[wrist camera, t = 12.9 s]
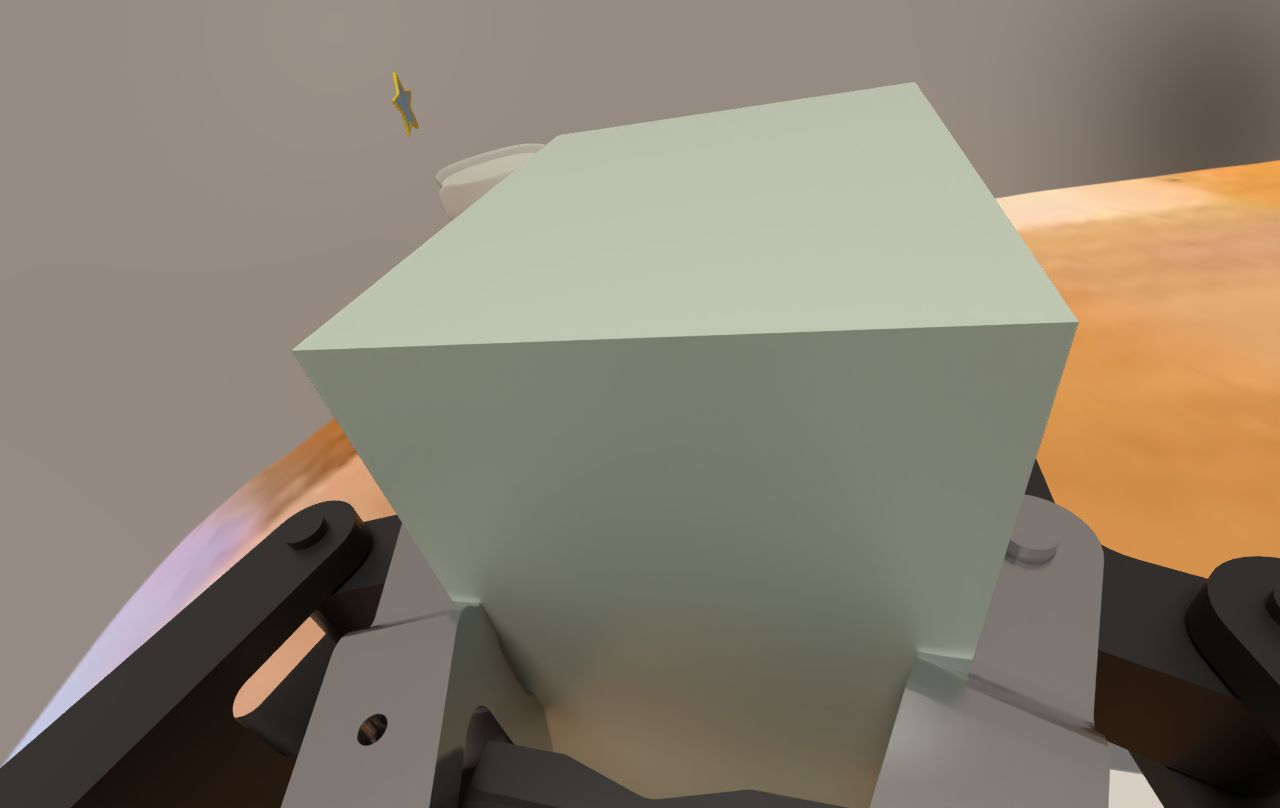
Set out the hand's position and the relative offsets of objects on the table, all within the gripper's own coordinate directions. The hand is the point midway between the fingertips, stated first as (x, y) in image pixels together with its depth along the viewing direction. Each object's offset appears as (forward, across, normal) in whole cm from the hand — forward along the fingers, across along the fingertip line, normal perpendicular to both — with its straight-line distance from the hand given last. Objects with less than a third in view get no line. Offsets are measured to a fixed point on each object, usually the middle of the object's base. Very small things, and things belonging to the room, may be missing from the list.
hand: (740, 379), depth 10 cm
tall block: (-3, 0, +7) cm, 7 cm away
